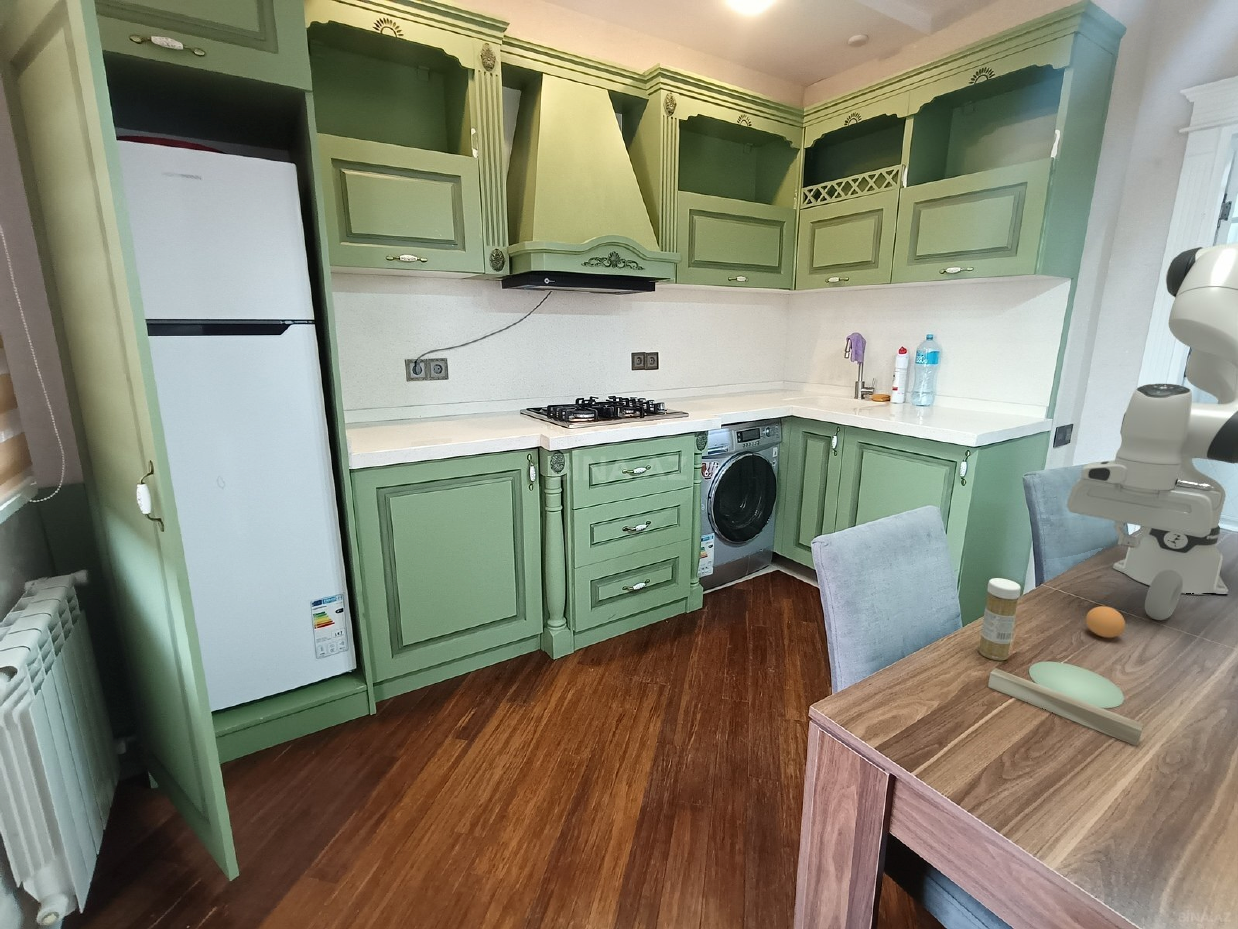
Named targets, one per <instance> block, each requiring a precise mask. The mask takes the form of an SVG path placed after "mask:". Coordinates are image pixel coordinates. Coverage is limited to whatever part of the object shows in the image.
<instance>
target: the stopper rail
mask: <svg viewBox="0 0 1238 929" xmlns="http://www.w3.org/2000/svg"><path fill="white" fill-rule="evenodd" d="M987 688H990V689H993V690H995V691H997V692H1000V693H1002V694H1005V695H1007V696H1010V697H1013V698H1015V699H1018V700H1019V701H1023V702H1025V703H1027V702H1028V704H1030V705H1032V706H1035V707H1037V708H1040V709H1042V708H1043V709H1042V710H1045V709H1046V710H1045V711H1047V712H1050V713H1052V712H1053V713H1052V714H1055V715H1057V716H1060V717H1062V718H1064V719H1067V720H1070V721H1073V722H1075V723H1077V724H1080V725H1082V726H1084V727H1087V728H1089V729H1092V730H1095V731H1098V732H1100V733H1102V734H1105V735H1107V736H1110V737H1112V738H1114V739H1117V740H1120V741H1122V742H1125V743H1127V744H1129V745H1132V746H1134V747H1138V746H1139V743H1140V739H1141V736H1142V732H1143V728H1144V723H1142V722H1139V721H1136V720H1134V719H1131V718H1128V717H1126V716H1123V715H1120V714H1118V713H1115V712H1113V711H1110V710H1109V709H1108V710H1107V709H1106V708H1100V707H1097V706H1094V705H1092V704H1089V703H1086V702H1084V701H1081V700H1078V699H1076V698H1073V697H1070V696H1068V695H1065V694H1063V693H1060V692H1057V691H1055V690H1052V689H1049V688H1047V687H1044V686H1041V685H1039V684H1036V683H1035V682H1034V681H1031V680H1028V679H1025V678H1024V677H1019V676H1017V675H1014V674H1012V673H1009V672H1007V671H1004V670H1002V669H999V668H996V667H995V668H993V669H992V671H990V673H989V680H988V684H987Z"/></svg>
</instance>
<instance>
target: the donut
mask: <svg viewBox="0 0 1238 929" xmlns="http://www.w3.org/2000/svg"><path fill="white" fill-rule="evenodd" d="M1182 588H1183V580H1182V577H1181V576H1180V575H1179V574H1178V573H1177V572H1175V571H1173V570H1164V571H1161V572H1159V573H1158V574H1157V575H1156V576H1155V578H1154V579H1153V581H1152V583H1151V585H1149V588H1148V591H1147V593H1146V596H1145V601H1144V610H1145V613H1146V614H1147V615H1148V616H1149V617H1150V618H1151V619H1153V620H1156V621H1164V620H1167V619H1168V618H1170V617H1171V616H1172V614H1173V613H1174V611H1175V610H1176V608H1177V606H1178V604H1179V601H1180V598H1181V594H1182V593H1181V592H1182Z"/></svg>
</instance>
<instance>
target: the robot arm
mask: <svg viewBox="0 0 1238 929" xmlns="http://www.w3.org/2000/svg"><path fill="white" fill-rule="evenodd" d="M1165 283H1166V284H1165V285H1166V290H1167V292H1168V294H1170V295H1171V296H1172V297H1174V300H1173V303H1172V306H1171V308H1170V311H1169V312H1170V313H1169V317H1168V318H1169V319H1168V328H1169V330H1170V332H1171V334H1172V335H1173V337H1174V338H1176V340H1178V341H1179V342H1180V343H1182V344H1183V345H1185V346H1187V347H1188V348H1191V352H1190V355H1189V358H1188V362H1187V365H1186V368H1185V377H1186V380H1187V381H1188V383H1190V384H1191V385H1192V386H1194V387H1195V388H1197V389H1198V390H1200V391H1202V392H1205V393H1208V394H1209V395H1212V396H1214V397H1215V398H1216V399H1217V400H1218V401H1217V403H1208V402H1196V401H1193V393H1192V390H1191V389H1190V388H1188V387H1186V386H1183V385H1180V384H1174V383H1153V384H1151V383H1150V384H1144V385H1142V386H1139V387H1137V388H1136V389H1135V390H1134V391H1133V393H1132V396H1131V398H1130V399H1129V400H1130V401H1129V403H1128V405H1127V408H1126V411H1125V413H1124V414H1123V416H1122V421H1121V427H1120V433H1119V434H1120V436H1121V444H1120V446H1119V448H1118V450H1117V451H1116V454H1115V458H1114V459H1113V460H1106V461H1105V460H1104V461H1094V462H1093V461H1092V462H1090V463H1087V464H1086V465H1084V466H1082V467H1083V468H1082V469H1081V472H1080V475H1081V477H1080V478H1078V480H1076V481H1075V482H1074V483H1073V486H1072V487H1071V490H1070V493H1069V496H1068V498H1067V502H1066V509H1067V510H1068V511H1069V512H1070V513H1072V514H1076V515H1077V514H1078V515H1083V516H1086V517H1087V516H1088V517H1093V518H1097V519H1098V518H1099V519H1103V520H1108V521H1114V522H1113V528H1114V530H1115V532H1116V533H1117V536H1118V541H1117V545H1119V546H1121V547H1122V546H1123V547H1128V548H1127V551H1126V556H1125V558H1123V559H1121V560H1119V561H1117V562H1114V563H1113V566H1112V568H1113V569H1114V570H1116V571H1119V572H1120V573H1124V574H1125V575H1127V576H1128V577H1130V578H1131V579H1133V580H1135V581H1137V582H1139V583H1142V584H1145V585H1148V586H1150V585H1151V583H1152V581H1153V579H1154V578H1155V576H1156V575H1157V574H1158V573H1159V572H1161V571H1164V570H1173V571H1175V572H1177V573H1178V574H1179V575H1180V576H1181V577H1182V580H1183V588H1182V592H1181V594H1186V593H1191V594H1190V595H1202V594H1201V593H1206V592H1208V593H1209V592H1222V593H1224V592H1228V593H1229V589H1228V587H1227V586H1226V584H1225V582H1224V581H1223V579H1222V577H1221V576H1220V575H1221V573H1222V569H1221V567H1222V563H1223V560H1224V555H1223V554H1222V553H1221V551H1219V549H1218V548H1217V546H1216V544H1217V543H1218V540H1219V537H1220V534H1221V532H1220V530H1221V527H1220V526H1219V522H1220V520H1221V515H1222V512H1223V508H1224V504H1225V501H1226V496H1227V495H1226V491H1225V489H1224V487H1223V486H1222V485H1221V484H1220V483H1219V482H1218V481H1216V480H1215V479H1213V478H1211V477H1210V476H1208V475H1207V474H1205V473H1202V472H1201V471H1199V470H1198V469H1197V468H1196V467H1195V466H1194V464H1193V463H1194V462H1193V459H1200V460H1201V459H1202V460H1210V461H1217V462H1224V463H1227V464H1234V465H1235V464H1238V241H1237V242H1231V243H1230V242H1229V243H1223V244H1218V245H1217V244H1216V245H1213V246H1209V247H1208V246H1207V247H1201V246H1200V247H1199V246H1198V247H1195V248H1191V249H1188V250H1184V251H1182V252H1180V253H1179V254H1177V255H1176V256H1175V257H1174V258H1173V259H1172V260H1171V262H1170V265H1169V266H1168V269H1167V271H1166V274H1165ZM1126 524H1129V525H1135V526H1139V533H1138V534H1135V535H1134V536H1132V535H1129V534H1126V532H1125V531H1124V529H1123V528H1124V527H1125V526H1126ZM1192 593H1194V594H1192Z"/></svg>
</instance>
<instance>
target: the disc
mask: <svg viewBox="0 0 1238 929" xmlns="http://www.w3.org/2000/svg"><path fill="white" fill-rule="evenodd" d="M1028 673H1029V674H1028V675H1029V677H1030V678H1031V679H1032V682H1033V683H1036V684H1039V685H1041V686H1044V687H1047V688H1049V689H1052V690H1055V691H1057V692H1060V693H1063V694H1065V695H1068V696H1070V697H1073V698H1076V699H1078V700H1081V701H1084V702H1086V703H1089V704H1092V705H1094V706H1097V707H1100V708H1102V709H1113V708H1117V707H1119V706H1122V704H1123V703H1124V700H1125V696H1124V694H1123V692H1122V691H1121V689H1120V688H1119V687H1118V686H1117V685H1116V684H1115V683H1113V682H1112V681H1110V680H1109V679H1108V678H1105V677H1104V676H1102V675H1100V674H1098V673H1095V671H1091V670H1089V669H1086V668H1083V667H1081V666H1077V665H1074V664H1069V663H1065V662H1059V661H1058V662H1057V661H1039V662H1035V663H1034V664H1032V665H1030V666H1029V670H1028Z"/></svg>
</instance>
